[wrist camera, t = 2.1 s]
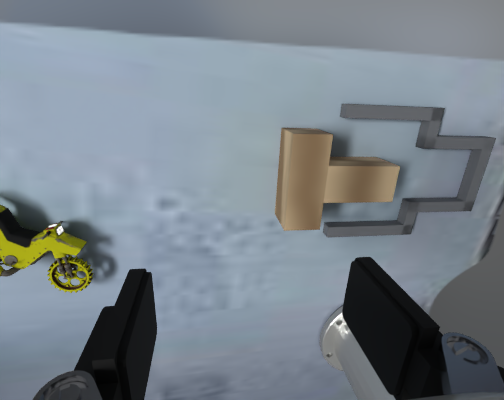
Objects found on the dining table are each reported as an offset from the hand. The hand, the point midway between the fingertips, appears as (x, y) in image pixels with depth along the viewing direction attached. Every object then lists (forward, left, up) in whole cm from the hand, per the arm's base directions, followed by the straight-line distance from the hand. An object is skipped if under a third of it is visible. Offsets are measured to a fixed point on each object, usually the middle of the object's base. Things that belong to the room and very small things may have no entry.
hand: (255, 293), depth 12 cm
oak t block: (-9, -6, -18) cm, 21 cm away
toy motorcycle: (+11, +16, -18) cm, 27 cm away
